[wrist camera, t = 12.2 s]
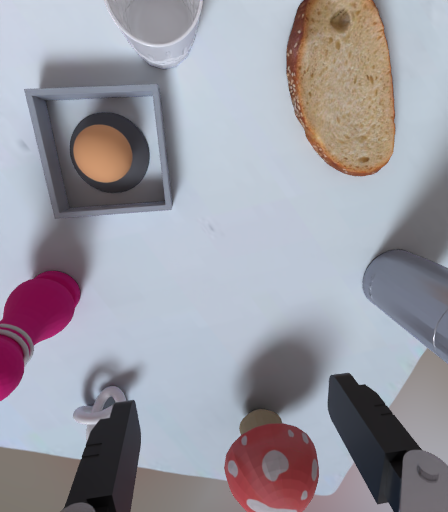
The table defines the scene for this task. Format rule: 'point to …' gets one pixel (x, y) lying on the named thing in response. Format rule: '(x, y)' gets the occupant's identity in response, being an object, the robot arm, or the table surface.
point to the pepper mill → (33, 321)
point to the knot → (98, 408)
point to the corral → (49, 152)
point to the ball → (102, 153)
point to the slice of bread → (343, 83)
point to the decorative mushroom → (271, 465)
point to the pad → (137, 146)
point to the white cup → (158, 28)
